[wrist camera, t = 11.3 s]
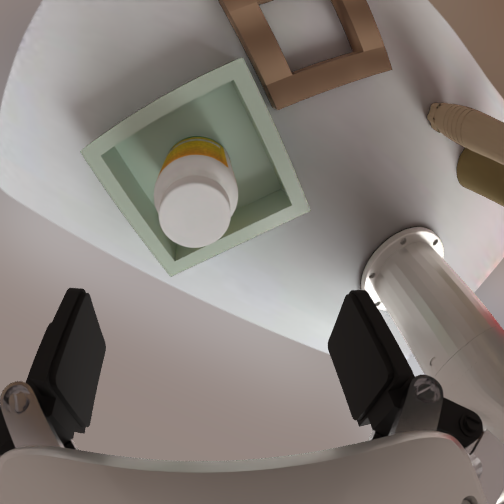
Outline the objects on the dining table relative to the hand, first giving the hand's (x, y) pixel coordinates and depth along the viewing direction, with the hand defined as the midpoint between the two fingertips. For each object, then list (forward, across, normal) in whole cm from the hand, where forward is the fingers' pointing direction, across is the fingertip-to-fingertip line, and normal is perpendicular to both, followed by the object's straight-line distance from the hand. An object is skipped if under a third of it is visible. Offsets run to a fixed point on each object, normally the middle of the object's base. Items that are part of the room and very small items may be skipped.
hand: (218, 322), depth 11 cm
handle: (+19, -22, -8) cm, 30 cm away
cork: (+19, -30, -4) cm, 36 cm away
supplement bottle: (+17, +1, 0) cm, 17 cm away
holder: (+18, -6, -13) cm, 23 cm away
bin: (+18, +1, -1) cm, 18 cm away
